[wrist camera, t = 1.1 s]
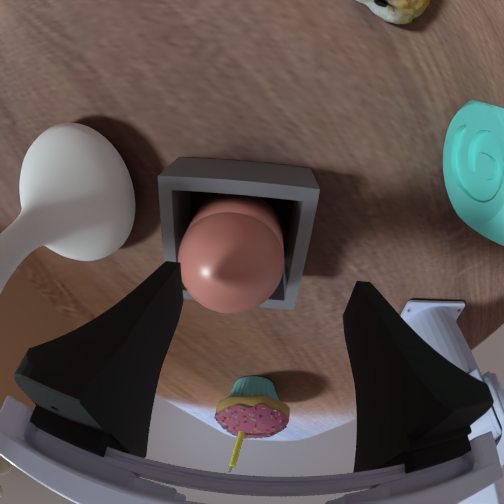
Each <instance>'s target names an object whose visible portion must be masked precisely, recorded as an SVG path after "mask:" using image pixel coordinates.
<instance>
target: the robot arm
mask: <svg viewBox="0 0 504 504" xmlns="http://www.w3.org/2000/svg"><path fill="white" fill-rule="evenodd" d="M182 305H183V288H182V275H181V263H179V262H171V261H166V262H165V263H163V264H162V265H161V266H160V267H159V268H158V269H157V270H156V271H154V272H153V273H152V274H151V275H150V276H149V277H148V278H147V279H146V280H145V281H143V282H142V283H141V284H140V285H139V286H138V287H137V288H135V289H134V290H133V291H132V292H131V293H130V294H128V295H127V296H126V297H125V298H123V299H122V300H121V301H120V302H118V303H117V304H116V305H114V306H113V307H112V308H110V309H109V310H107V311H106V312H104V313H103V314H101V315H100V316H98V317H97V318H95V319H93V320H92V321H90V322H88V323H86V324H85V325H83V326H81V327H79V328H78V329H76V330H74V331H72V332H70V333H67V334H65V335H63V336H61V337H59V338H57V339H54V340H52V341H49V342H46V343H44V344H41V345H38V346H35V347H32V348H29V349H28V351H27V353H26V354H25V356H24V358H23V359H22V361H21V363H20V365H19V366H18V368H17V370H16V372H15V374H14V378H15V381H16V383H17V384H18V386H19V387H20V388H21V389H22V390H23V391H24V393H25V394H26V395H27V396H28V397H29V398H30V399H31V400H32V401H33V402H34V403H35V404H36V407H35V409H34V411H33V410H32V409H30V408H29V407H27V406H26V405H24V404H23V403H21V402H19V401H17V400H16V399H14V398H12V397H11V396H7V398H6V400H5V402H4V404H3V406H2V408H1V411H0V455H1V456H2V457H3V458H5V459H6V460H7V461H9V462H10V463H11V464H13V465H14V466H16V467H17V468H18V469H20V470H21V471H23V472H24V473H26V474H27V475H29V476H30V477H32V478H33V479H35V480H36V481H38V482H39V483H41V484H43V485H44V486H46V487H47V488H49V489H51V490H52V491H54V492H56V493H58V494H59V495H61V496H63V497H65V498H67V499H69V500H70V501H73V502H75V503H76V504H203V503H197V502H190V501H185V499H186V497H185V496H184V495H183V494H180V493H177V491H176V489H175V488H171V487H168V486H165V485H161V484H158V483H154V482H151V481H149V480H145V479H142V478H140V477H143V478H146V479H150V480H154V481H158V482H162V483H166V484H171V485H175V486H181V487H186V488H191V489H197V490H204V491H210V492H218V493H227V494H237V495H251V496H309V495H324V494H335V493H343V492H350V491H357V490H364V489H369V490H365V491H360V492H356V493H351V494H346V495H344V496H343V497H341V498H338V499H335V500H331V501H327V502H326V504H504V499H503V494H502V489H501V484H500V479H501V478H502V477H503V474H502V469H501V468H502V467H503V465H504V390H503V388H502V385H501V383H500V381H499V379H498V377H497V375H496V374H495V373H490V372H487V373H485V374H484V375H482V373H481V372H480V370H479V368H478V366H477V363H476V361H475V359H474V357H473V355H472V352H471V350H470V348H469V346H468V344H467V342H466V340H465V338H464V336H463V334H462V332H461V330H460V328H459V326H458V324H457V323H456V320H457V318H458V316H459V315H460V313H461V312H462V310H463V308H464V307H465V303H464V302H463V301H428V300H410V301H408V302H407V304H406V306H405V308H404V309H403V311H402V313H401V315H399V314H398V313H397V312H396V311H395V309H394V308H393V307H392V306H391V305H390V304H389V303H388V301H387V300H386V299H385V298H384V297H383V296H382V295H381V294H380V292H379V291H378V290H377V289H376V288H375V287H374V286H373V285H372V284H371V283H370V282H363V281H357V282H356V284H355V287H354V289H353V292H352V295H351V297H350V300H349V302H348V305H347V307H346V309H345V312H344V314H343V324H344V334H345V340H346V345H347V350H348V354H349V359H350V363H351V368H352V373H353V378H354V383H355V391H356V406H357V440H356V455H355V465H354V472H353V473H347V474H338V475H327V476H326V475H325V476H309V477H308V476H307V477H264V476H247V475H235V474H225V473H217V472H209V471H202V470H196V469H191V468H185V467H180V466H175V465H170V464H165V463H161V462H157V461H153V460H149V459H145V457H146V453H147V443H148V433H149V427H150V420H151V413H152V408H153V403H154V398H155V393H156V388H157V384H158V379H159V375H160V371H161V368H162V365H163V362H164V359H165V356H166V353H167V351H168V348H169V345H170V343H171V340H172V337H173V335H174V332H175V329H176V327H177V324H178V321H179V317H180V313H181V309H182ZM409 308H410V309H409ZM497 438H498V439H497ZM495 439H496V440H495Z"/></svg>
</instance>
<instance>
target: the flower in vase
mask: <svg viewBox="0 0 504 504" xmlns="http://www.w3.org/2000/svg"><path fill="white" fill-rule="evenodd" d="M19 188H20V201H21V207H22V211H21V213H20V215H19V216H18V217H17V219H16V220H15V221H14V222H13V223H12V224H11V225H10V226H9V227H8V228H6V229H5V230H4V231H3V232H2V233H0V294H1V292H2V290H3V288H4V286H5V284H6V282H7V281H8V279H9V278H10V276H11V275H12V273H13V272H14V270H15V269H16V268H17V267H18V265H19V264H20V263H21V262H22V261H23V260H24V259H25V258H26V257H27V256H28V255H29V254H30V253H31V252H32V251H33V250H35V249H36V248H38V247H40V246H46V247H48V248H49V249H51V250H53V251H54V252H56V253H58V254H60V255H62V256H65V257H68V258H71V259H76V260H81V261H93V260H98V259H101V258H104V257H106V256H108V255H110V254H112V253H114V252H115V251H117V250H118V249H119V248H120V247H121V246H122V245H123V244H124V243H125V241H126V240H127V238H128V237H129V235H130V232H131V230H132V227H133V223H134V218H135V194H134V189H133V184H132V180H131V178H130V175H129V172H128V170H127V167H126V165H125V163H124V161H123V159H122V158H121V156H120V154H119V153H118V152H117V150H116V149H115V148H114V146H113V145H112V144H111V143H110V142H109V141H108V140H107V139H106V138H105V137H104V136H103V135H101V134H100V133H99V132H97V131H96V130H94V129H92V128H90V127H88V126H85V125H82V124H78V123H61V124H57V125H55V126H52V127H50V128H49V129H47V130H45V131H44V132H43V133H42V134H41V135H40V136H39V137H38V138H37V139H36V140H35V141H34V143H33V144H32V145H31V146H30V148H29V150H28V151H27V153H26V156H25V158H24V161H23V165H22V170H21V176H20V187H19ZM11 467H12V466H11V463H10V462H9V461H7V460H6V459H5V458H3V457H2V456H1V455H0V475H4V474H7V473H9V472H10V470H11ZM2 494H3V490H2V488H1V486H0V498H1V496H2Z"/></svg>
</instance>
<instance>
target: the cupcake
mask: <svg viewBox="0 0 504 504" xmlns="http://www.w3.org/2000/svg"><path fill="white" fill-rule="evenodd" d="M289 412H290V409H289V407H288V406H287V405H286V404H285V403H283V402H281V401H279V399H278V397H277V394H276V391H275V389H274V385H273V383H272V382H271V381H270V380H268V379H266V378H263V377H259V376H246V377H242V378H240V379H238V380H237V381H236V382H235V384H234V386H233V389H232V390H231V392H230V394H229V396H228V397H227V398H225V399H224V400H221V401H220V402H219V403H218V406H217V409H216V414H215V417H214V419H215V418H216V420H217V422H218V423H219V424H220V425H221V427H222V428H223V429H226V430H227V432H229V433H231V434H232V435H236V436H238V437H237V440H236V444H235V447H234V450H233V454H232V457H231V461H230V464H229V465H230V466H231V467H230V469H229V471H228V472H230V471H231V469H232V467H235V466H236V462H237V459H238V455H239V452H240V448H241V445H242V441H243V438H244V439H246V438H247V439H248V438H262V437H264V438H265V437H270V436H273V435H275V434H277V433H278V432H281V431H282V430H284V428H286V427H287V426H286V425H287V424H288V422H289Z"/></svg>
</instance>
